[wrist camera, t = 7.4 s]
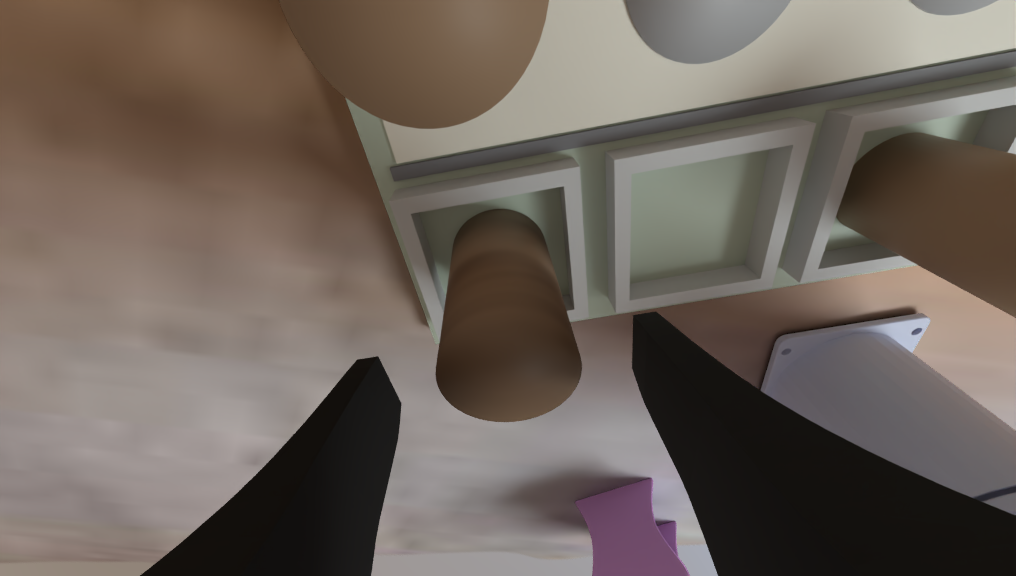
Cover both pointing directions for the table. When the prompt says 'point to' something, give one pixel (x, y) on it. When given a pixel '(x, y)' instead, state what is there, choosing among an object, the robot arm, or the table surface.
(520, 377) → the walnut pin
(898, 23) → the pin board
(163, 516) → the table surface
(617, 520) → the toy chair
